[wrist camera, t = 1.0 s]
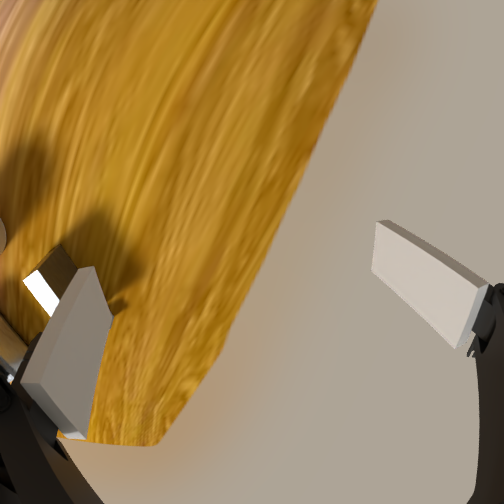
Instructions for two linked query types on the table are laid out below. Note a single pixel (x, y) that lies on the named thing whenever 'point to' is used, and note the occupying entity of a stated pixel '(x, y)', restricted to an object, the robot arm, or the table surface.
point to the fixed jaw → (51, 278)
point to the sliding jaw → (10, 350)
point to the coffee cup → (2, 236)
